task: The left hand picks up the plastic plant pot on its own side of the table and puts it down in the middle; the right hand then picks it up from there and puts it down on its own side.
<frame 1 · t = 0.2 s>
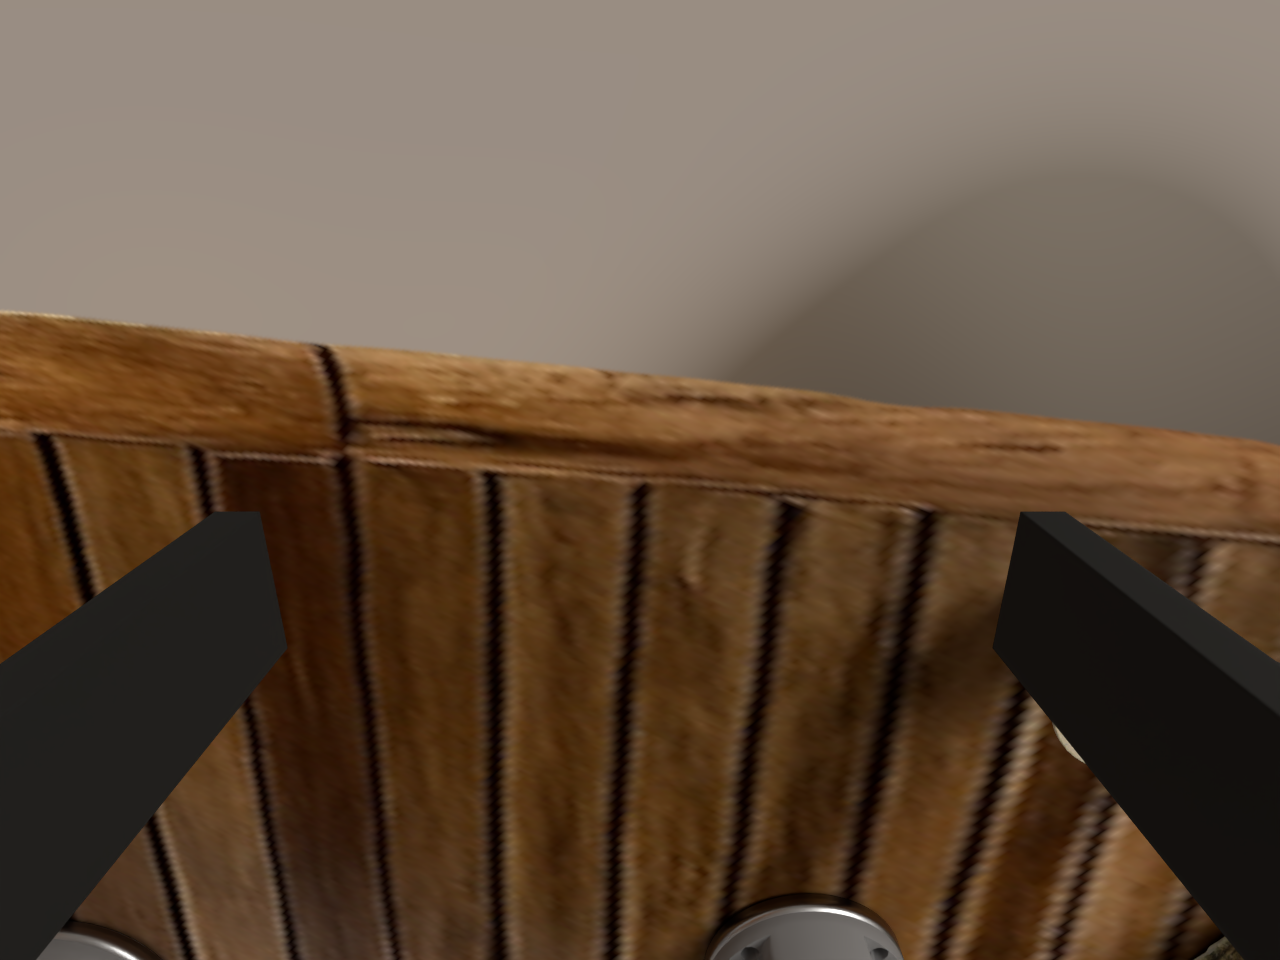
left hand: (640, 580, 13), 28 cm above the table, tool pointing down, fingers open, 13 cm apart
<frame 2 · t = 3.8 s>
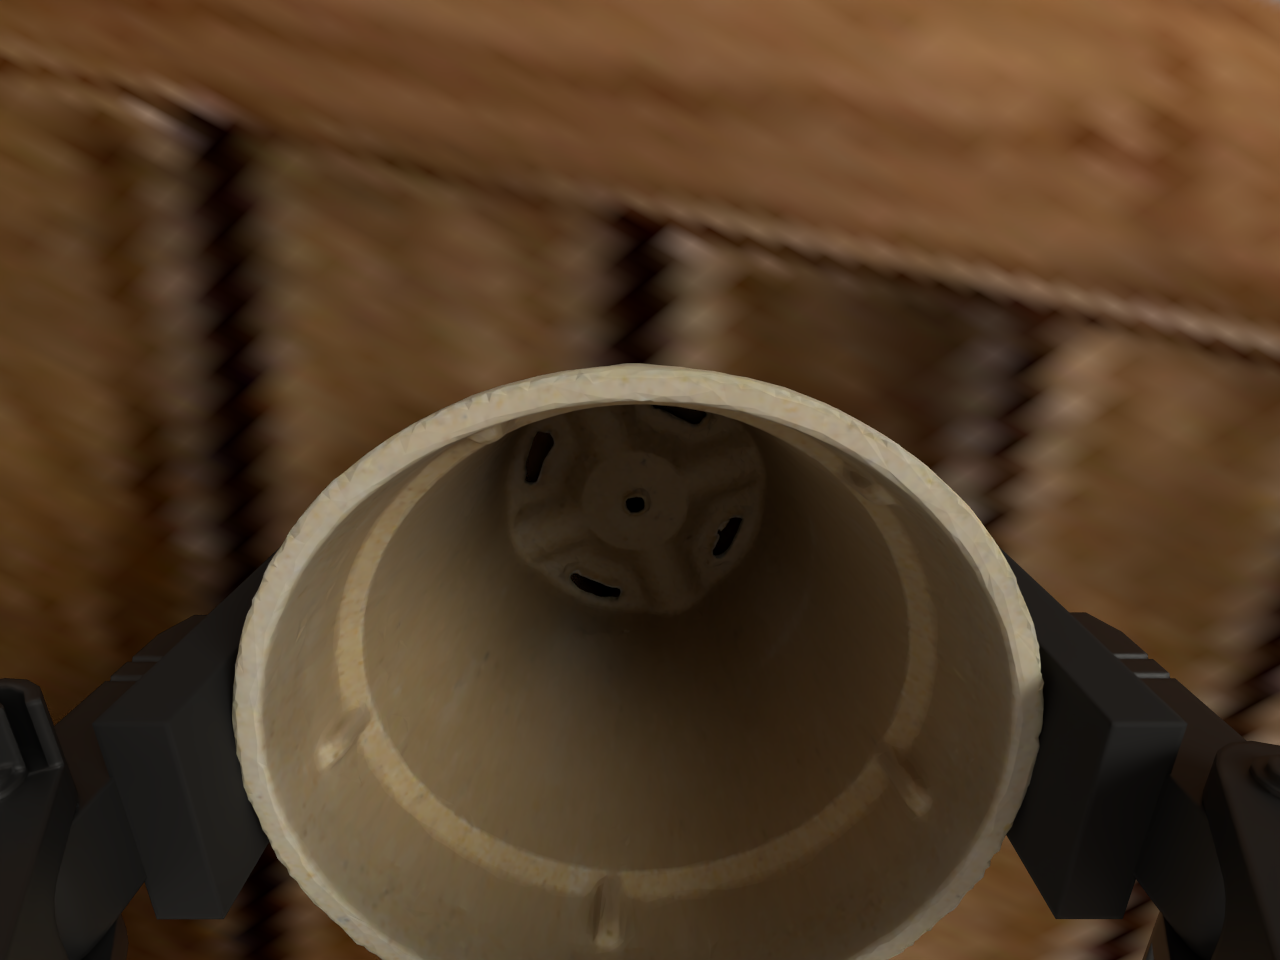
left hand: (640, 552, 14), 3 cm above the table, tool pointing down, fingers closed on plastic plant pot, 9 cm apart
plastic plant pot: (639, 494, 16), on the table, touching left hand
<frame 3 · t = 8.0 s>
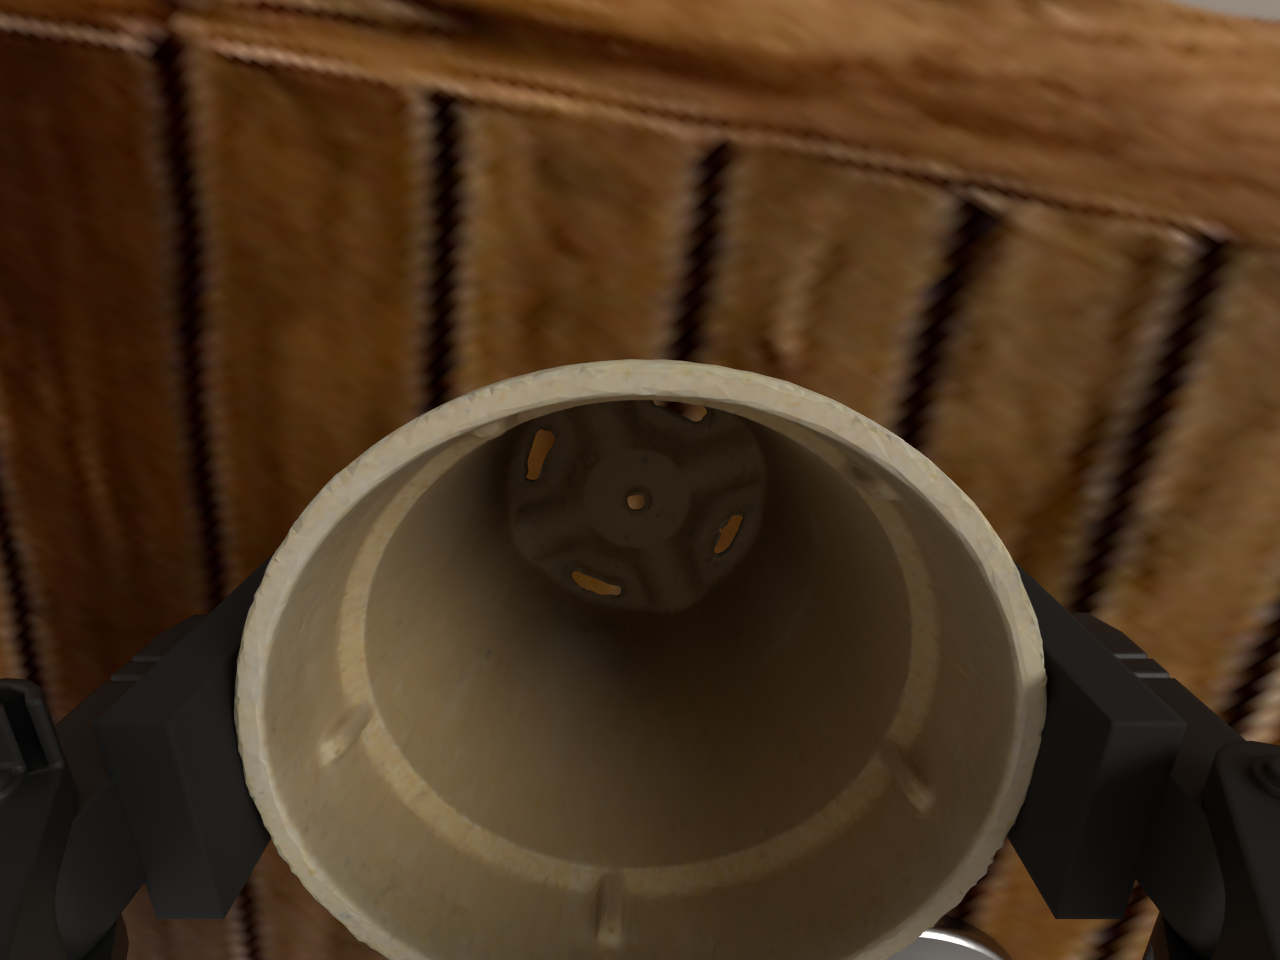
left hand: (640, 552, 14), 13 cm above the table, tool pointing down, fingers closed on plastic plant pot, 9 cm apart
plastic plant pot: (640, 492, 16), point 10 cm above the table, touching left hand
when the left hand's fingers open (5 cm above the table, at t = 12.3 s): plastic plant pot drops 2 cm, on the table.
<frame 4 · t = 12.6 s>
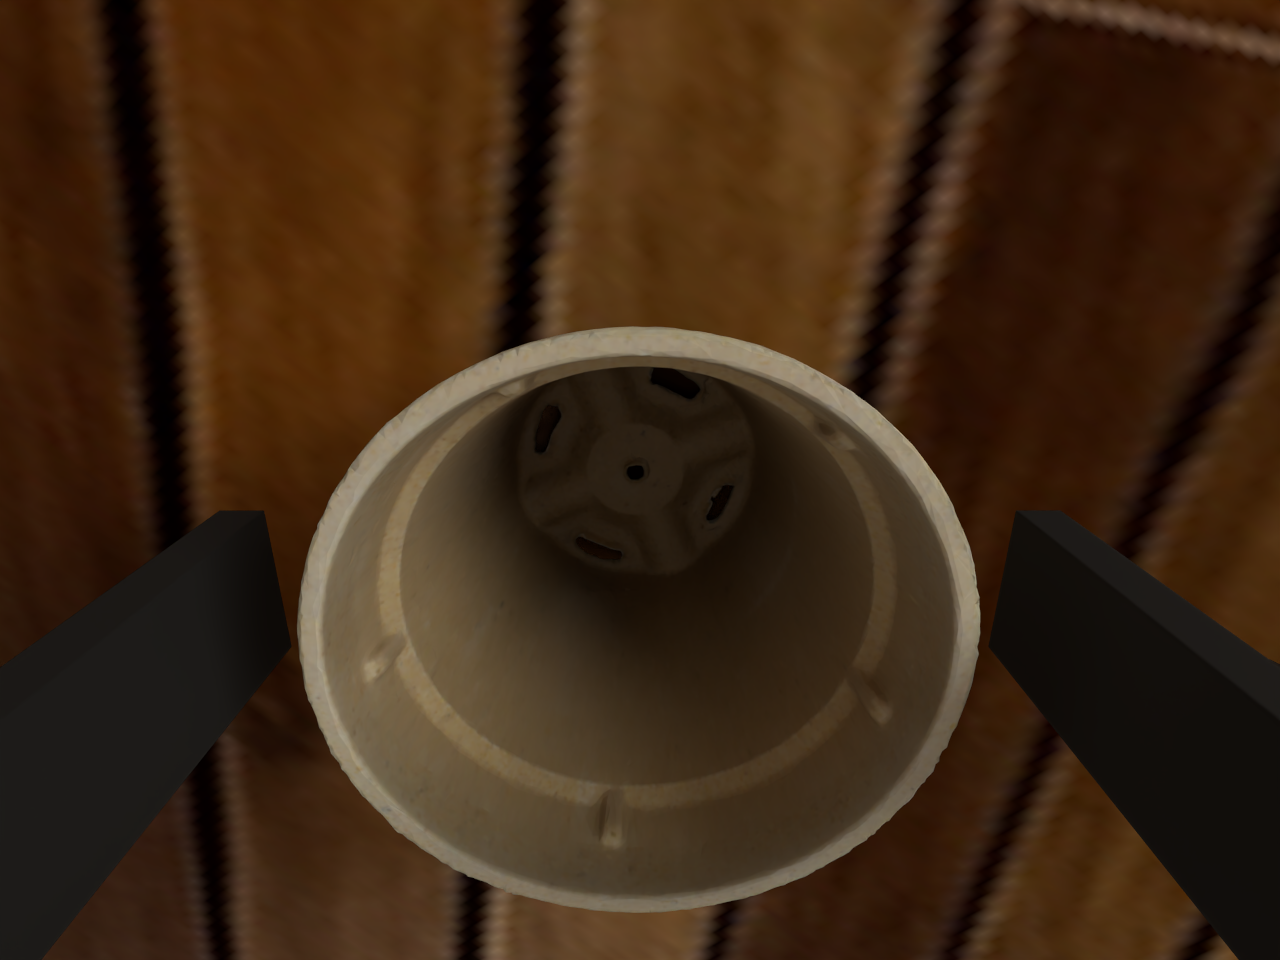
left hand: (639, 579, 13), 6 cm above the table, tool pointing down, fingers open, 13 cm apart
plastic plant pot: (639, 463, 18), on the table
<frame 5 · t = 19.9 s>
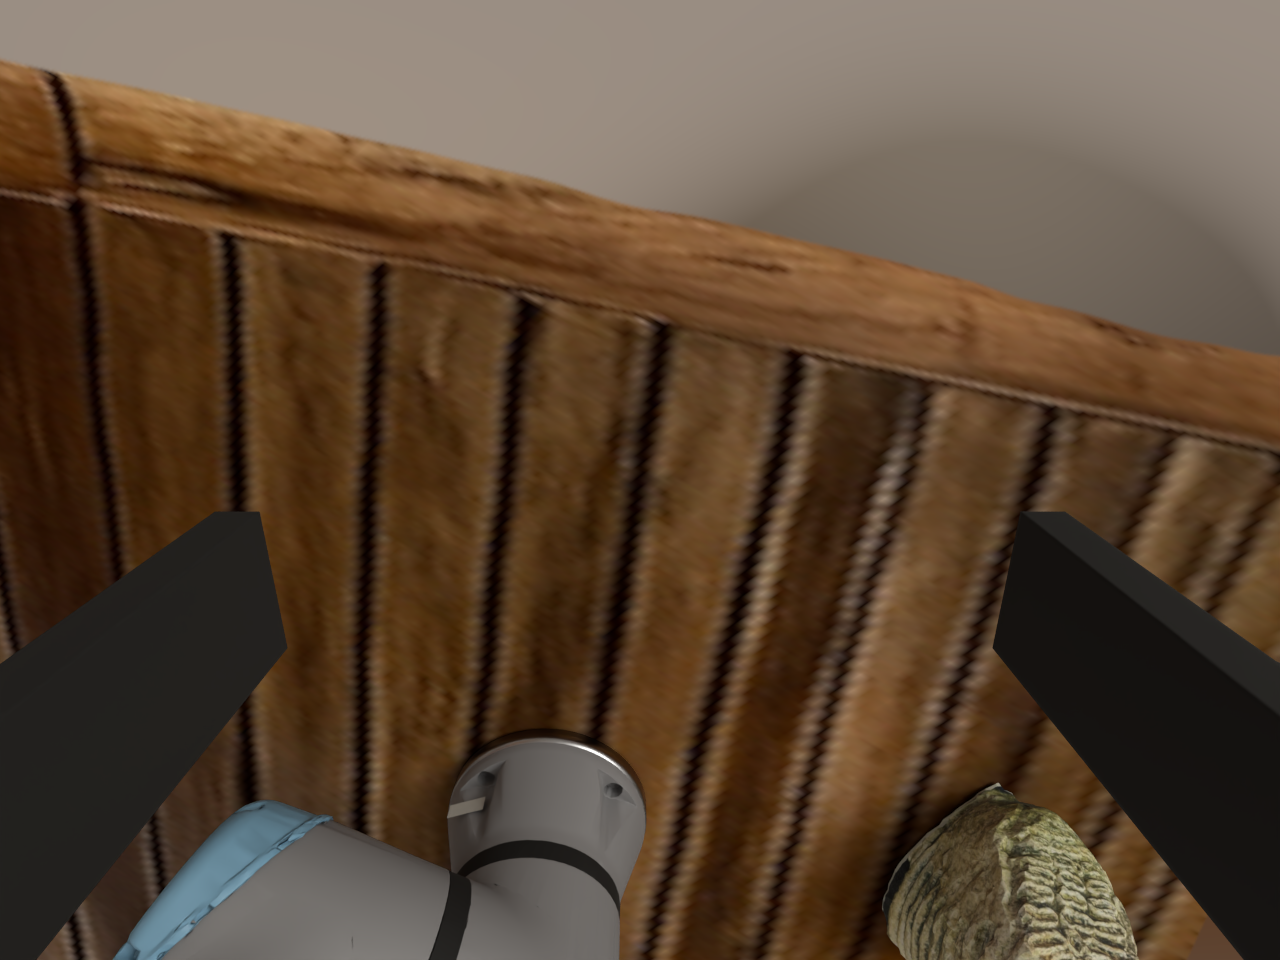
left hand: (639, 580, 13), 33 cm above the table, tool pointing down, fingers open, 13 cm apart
fossil: (957, 848, 58), on the table
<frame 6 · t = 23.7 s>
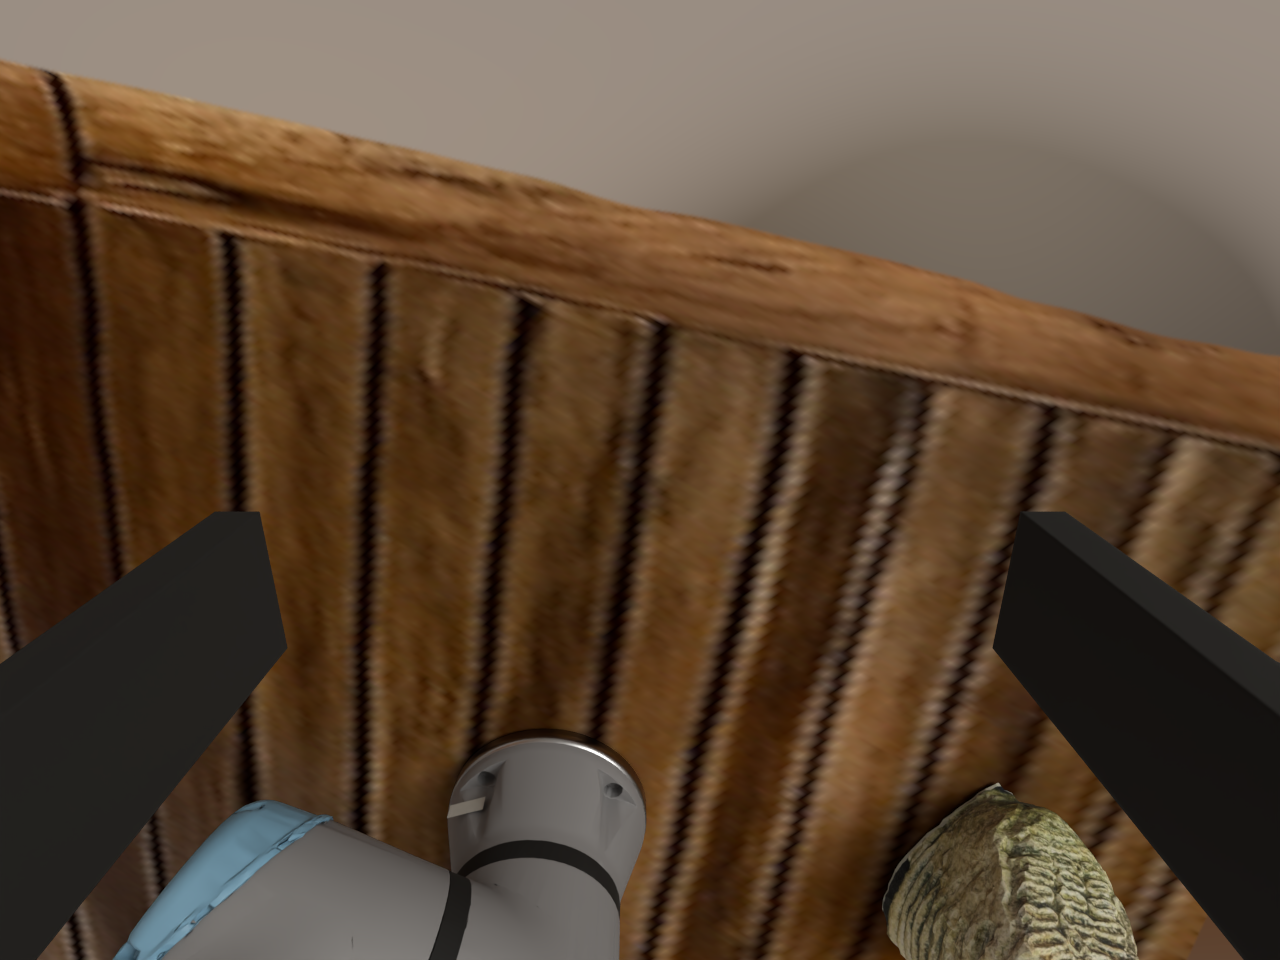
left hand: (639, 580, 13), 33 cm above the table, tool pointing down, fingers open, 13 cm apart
fossil: (957, 848, 58), on the table
when the right hand's fingers open (5 cm above the table, at t = 27.6 s): plastic plant pot drops 2 cm, on the table.
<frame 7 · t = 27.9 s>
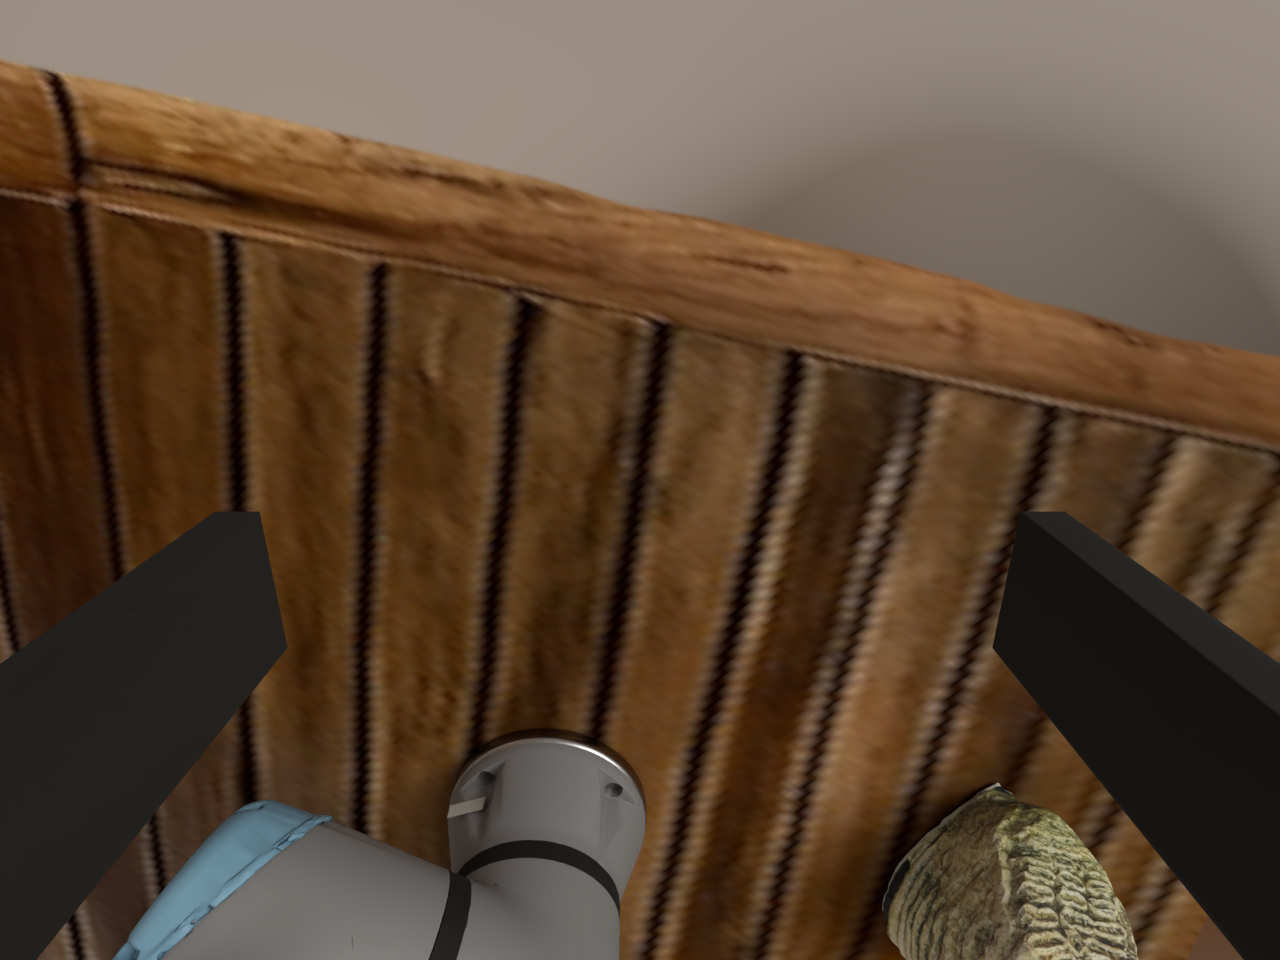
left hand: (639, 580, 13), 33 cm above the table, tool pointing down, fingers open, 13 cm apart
fossil: (957, 848, 58), on the table
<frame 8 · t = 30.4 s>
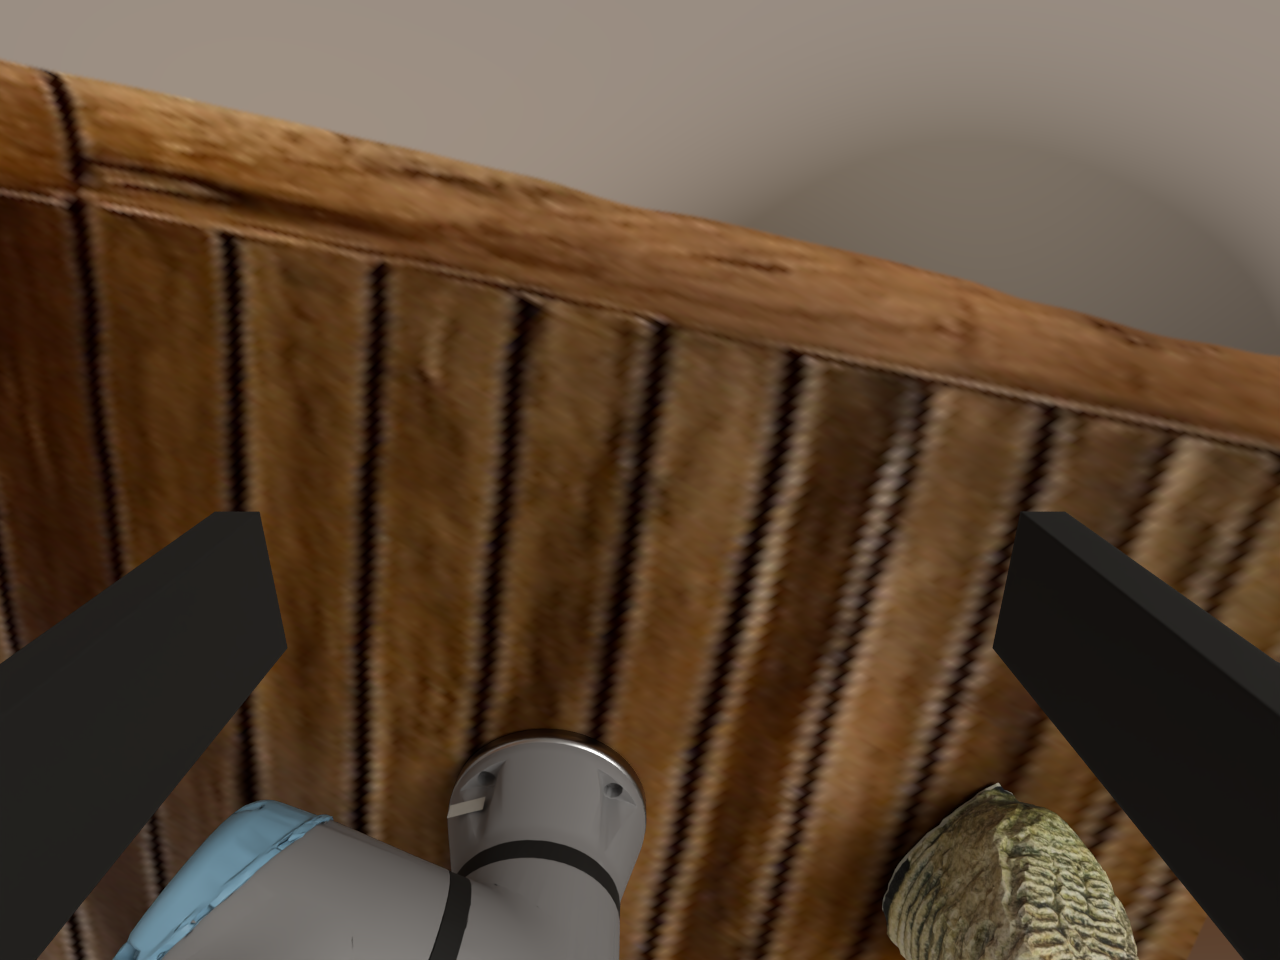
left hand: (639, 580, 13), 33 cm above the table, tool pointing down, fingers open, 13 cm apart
fossil: (957, 848, 58), on the table
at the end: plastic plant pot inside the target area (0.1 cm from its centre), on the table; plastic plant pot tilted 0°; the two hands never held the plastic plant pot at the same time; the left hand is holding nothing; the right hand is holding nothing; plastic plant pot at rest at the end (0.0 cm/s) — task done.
